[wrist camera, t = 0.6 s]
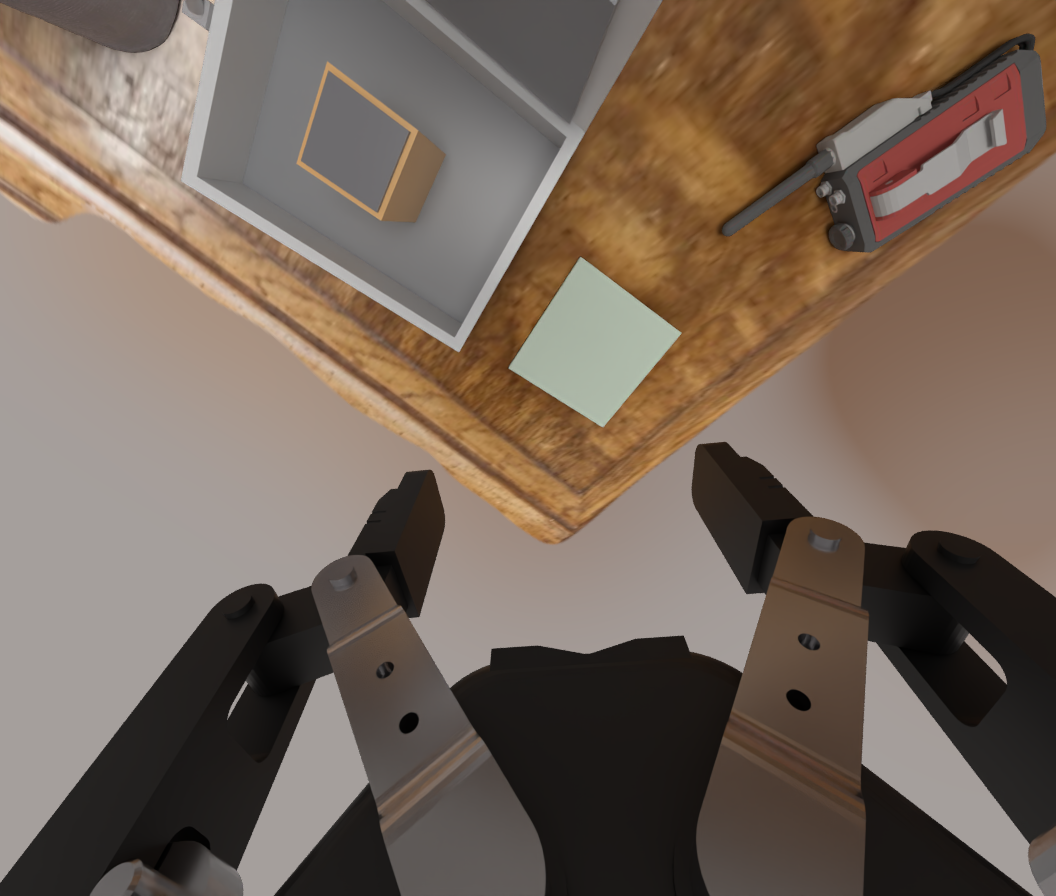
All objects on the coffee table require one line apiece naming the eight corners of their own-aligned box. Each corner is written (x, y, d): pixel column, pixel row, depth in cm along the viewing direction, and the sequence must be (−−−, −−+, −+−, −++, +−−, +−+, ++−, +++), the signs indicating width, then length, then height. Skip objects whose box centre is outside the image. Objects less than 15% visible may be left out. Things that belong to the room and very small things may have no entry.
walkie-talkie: (1002, 5, 25) (710, 220, 31) (1088, -35, 22) (735, 219, 27) (1018, 142, 29) (752, 313, 35) (1094, 129, 25) (780, 324, 31)
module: (380, 104, 27) (324, 59, 20) (446, 154, 28) (416, 129, 21) (352, 179, 29) (293, 162, 22) (415, 222, 30) (379, 220, 23)
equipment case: (292, -137, 22) (-925, -1997, 4) (589, 124, 28) (711, -86, 9) (220, 178, 30) (-315, 92, 11) (468, 335, 35) (398, 458, 16)
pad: (580, 256, 32) (580, 256, 32) (679, 332, 35) (681, 333, 35) (508, 366, 37) (508, 368, 36) (602, 425, 40) (603, 427, 39)
